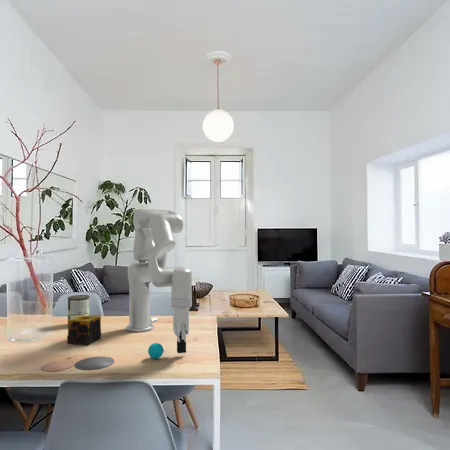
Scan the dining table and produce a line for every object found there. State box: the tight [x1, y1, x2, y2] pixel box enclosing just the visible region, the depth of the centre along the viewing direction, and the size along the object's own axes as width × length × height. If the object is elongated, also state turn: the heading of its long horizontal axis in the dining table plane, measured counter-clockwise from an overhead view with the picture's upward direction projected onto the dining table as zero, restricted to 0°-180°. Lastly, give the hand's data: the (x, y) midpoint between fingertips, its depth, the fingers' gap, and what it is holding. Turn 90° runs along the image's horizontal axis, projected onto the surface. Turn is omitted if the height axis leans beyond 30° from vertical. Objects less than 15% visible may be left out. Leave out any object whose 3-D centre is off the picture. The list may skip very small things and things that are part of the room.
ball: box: [147, 342, 164, 360], centre depth 135 cm, size 6×6×6 cm
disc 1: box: [41, 360, 75, 372], centre depth 127 cm, size 10×10×1 cm
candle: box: [66, 315, 102, 346], centre depth 157 cm, size 10×10×10 cm
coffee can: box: [67, 294, 90, 321], centre depth 186 cm, size 10×10×14 cm
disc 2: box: [74, 356, 115, 371], centre depth 130 cm, size 13×13×1 cm
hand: (181, 352), depth 137 cm, fingers closed
